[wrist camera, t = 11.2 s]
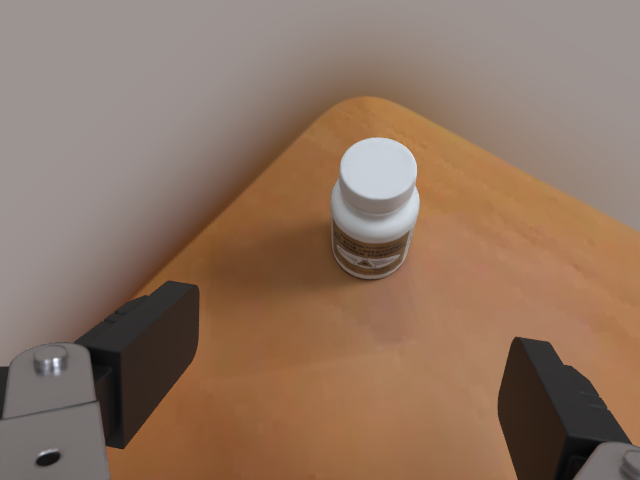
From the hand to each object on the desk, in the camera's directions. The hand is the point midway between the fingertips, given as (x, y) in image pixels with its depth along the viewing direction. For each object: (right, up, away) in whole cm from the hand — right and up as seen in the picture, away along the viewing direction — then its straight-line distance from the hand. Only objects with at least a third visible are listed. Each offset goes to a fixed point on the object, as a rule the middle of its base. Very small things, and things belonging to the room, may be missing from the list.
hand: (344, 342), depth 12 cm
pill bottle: (+2, +2, +16) cm, 16 cm away
